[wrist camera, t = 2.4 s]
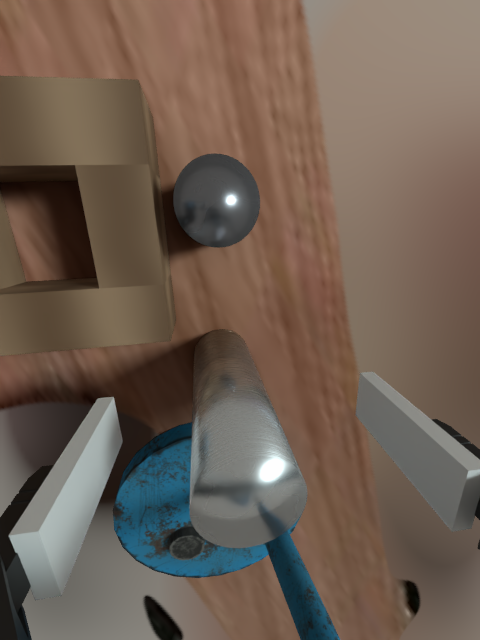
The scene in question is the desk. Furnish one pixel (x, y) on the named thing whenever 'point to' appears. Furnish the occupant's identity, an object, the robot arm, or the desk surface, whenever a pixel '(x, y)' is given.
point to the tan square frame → (86, 215)
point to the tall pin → (238, 450)
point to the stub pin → (216, 200)
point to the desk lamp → (185, 542)
